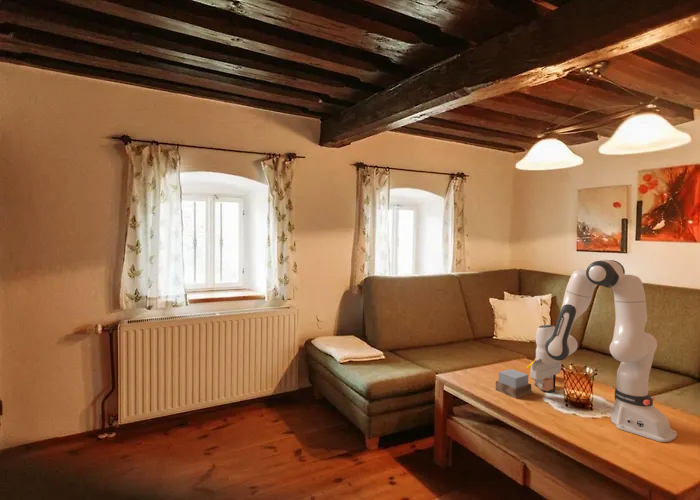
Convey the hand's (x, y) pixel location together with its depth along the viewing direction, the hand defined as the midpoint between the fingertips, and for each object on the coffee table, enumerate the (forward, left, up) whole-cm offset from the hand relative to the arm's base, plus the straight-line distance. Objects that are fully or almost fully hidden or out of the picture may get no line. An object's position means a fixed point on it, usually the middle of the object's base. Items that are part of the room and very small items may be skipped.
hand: (545, 385), depth 199 cm
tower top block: (+12, +8, -1) cm, 15 cm away
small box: (+7, -10, -6) cm, 14 cm away
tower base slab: (+13, +8, -6) cm, 16 cm away
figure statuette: (+17, -23, -6) cm, 29 cm away
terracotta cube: (0, 0, -2) cm, 2 cm away
